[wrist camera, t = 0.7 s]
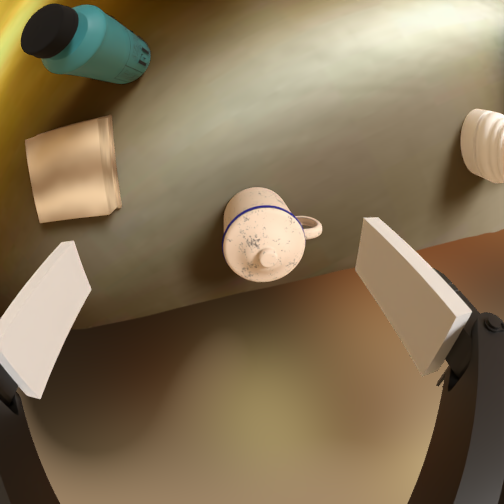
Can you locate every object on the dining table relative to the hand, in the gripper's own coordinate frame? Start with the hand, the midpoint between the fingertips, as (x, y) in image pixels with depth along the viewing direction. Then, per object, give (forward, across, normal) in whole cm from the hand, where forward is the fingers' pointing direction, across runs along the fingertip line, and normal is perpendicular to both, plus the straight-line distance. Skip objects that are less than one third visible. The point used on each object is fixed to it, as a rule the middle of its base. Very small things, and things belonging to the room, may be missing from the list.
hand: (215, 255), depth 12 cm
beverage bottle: (+25, -11, +14) cm, 31 cm away
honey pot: (+25, +46, +5) cm, 53 cm away
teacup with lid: (+25, +6, -9) cm, 27 cm away
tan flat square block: (+25, -20, +1) cm, 32 cm away
